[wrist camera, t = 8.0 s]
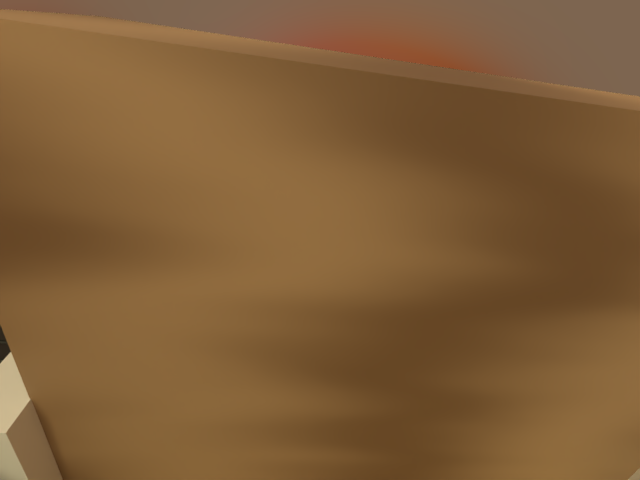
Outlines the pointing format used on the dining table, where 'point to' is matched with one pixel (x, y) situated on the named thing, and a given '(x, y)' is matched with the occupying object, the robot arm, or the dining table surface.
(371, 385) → the wooden block
